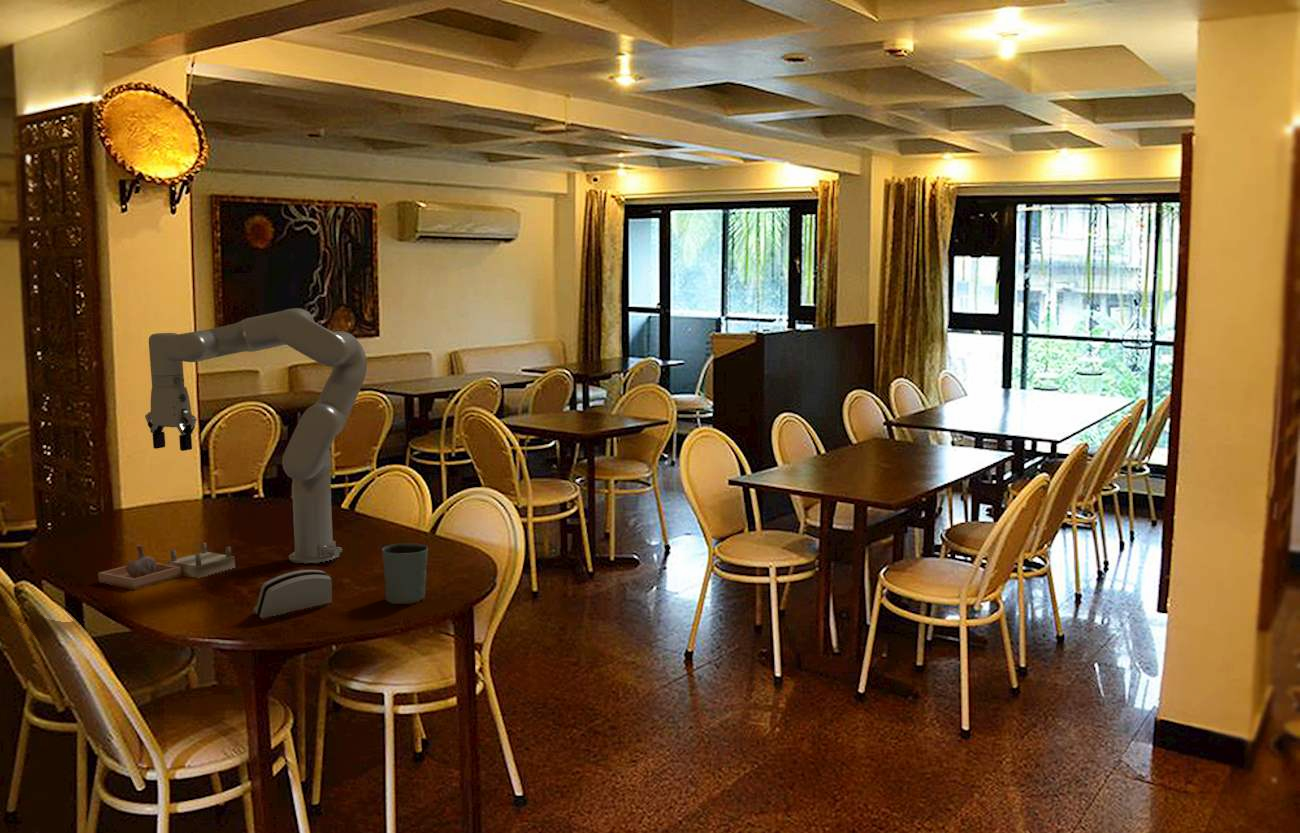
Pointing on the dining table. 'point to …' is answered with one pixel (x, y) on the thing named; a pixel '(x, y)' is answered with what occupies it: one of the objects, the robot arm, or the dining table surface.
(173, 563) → the peg rest
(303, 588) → the grey arched block
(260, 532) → the dining table surface
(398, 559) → the grey green cup
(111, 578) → the terracotta dish
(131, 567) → the garlic bulb
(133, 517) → the dining table surface
